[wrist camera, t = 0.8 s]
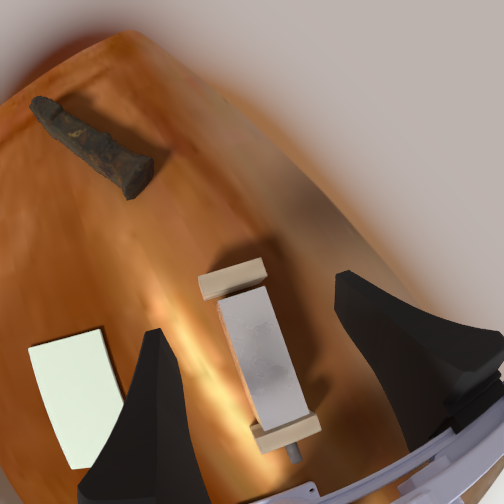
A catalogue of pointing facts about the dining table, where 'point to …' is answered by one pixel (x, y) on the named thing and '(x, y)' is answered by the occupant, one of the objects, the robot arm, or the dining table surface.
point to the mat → (78, 394)
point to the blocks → (265, 440)
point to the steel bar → (262, 358)
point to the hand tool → (95, 147)
